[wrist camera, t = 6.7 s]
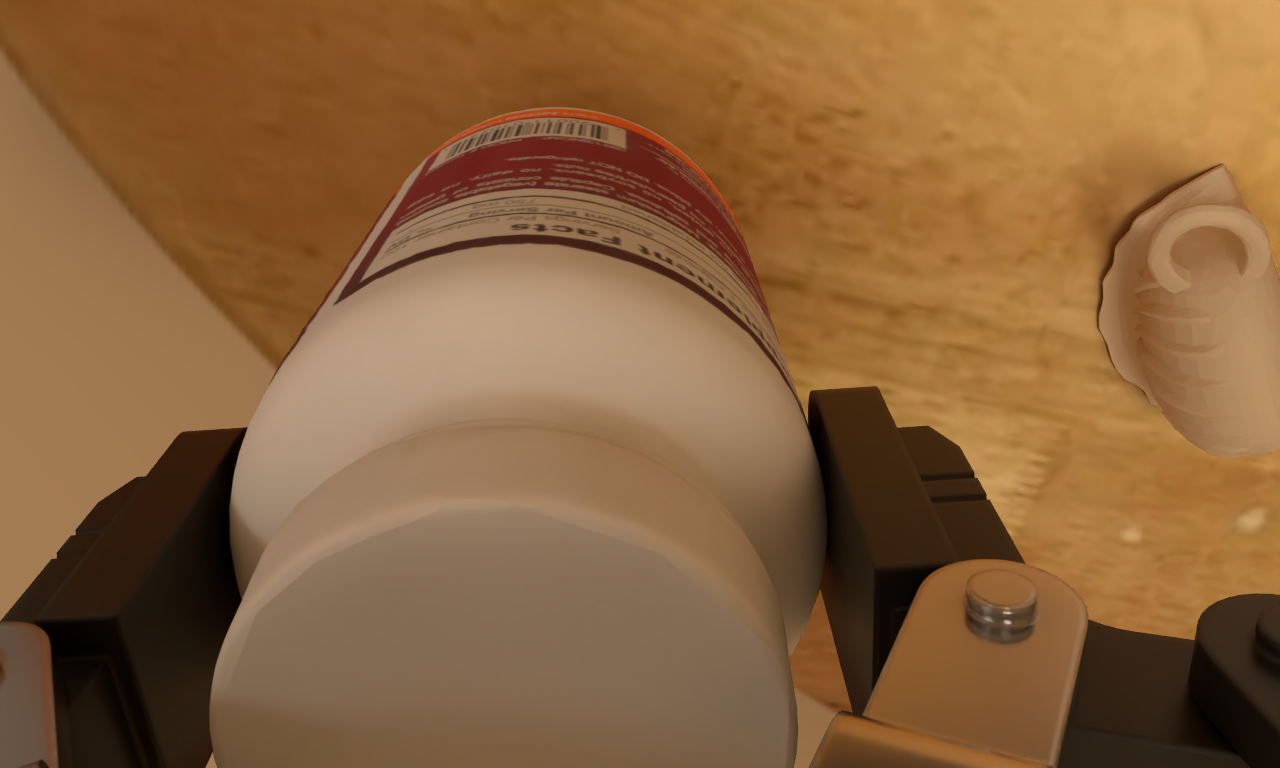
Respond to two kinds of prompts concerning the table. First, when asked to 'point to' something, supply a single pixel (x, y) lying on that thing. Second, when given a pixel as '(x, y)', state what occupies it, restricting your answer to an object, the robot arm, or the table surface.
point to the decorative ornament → (1200, 317)
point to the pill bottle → (528, 480)
